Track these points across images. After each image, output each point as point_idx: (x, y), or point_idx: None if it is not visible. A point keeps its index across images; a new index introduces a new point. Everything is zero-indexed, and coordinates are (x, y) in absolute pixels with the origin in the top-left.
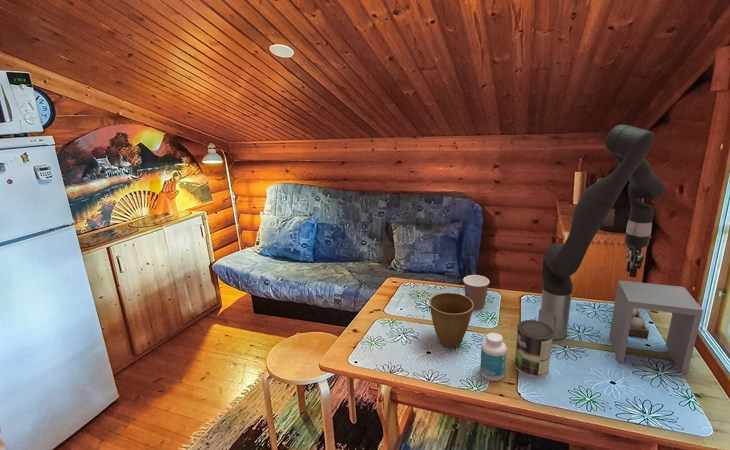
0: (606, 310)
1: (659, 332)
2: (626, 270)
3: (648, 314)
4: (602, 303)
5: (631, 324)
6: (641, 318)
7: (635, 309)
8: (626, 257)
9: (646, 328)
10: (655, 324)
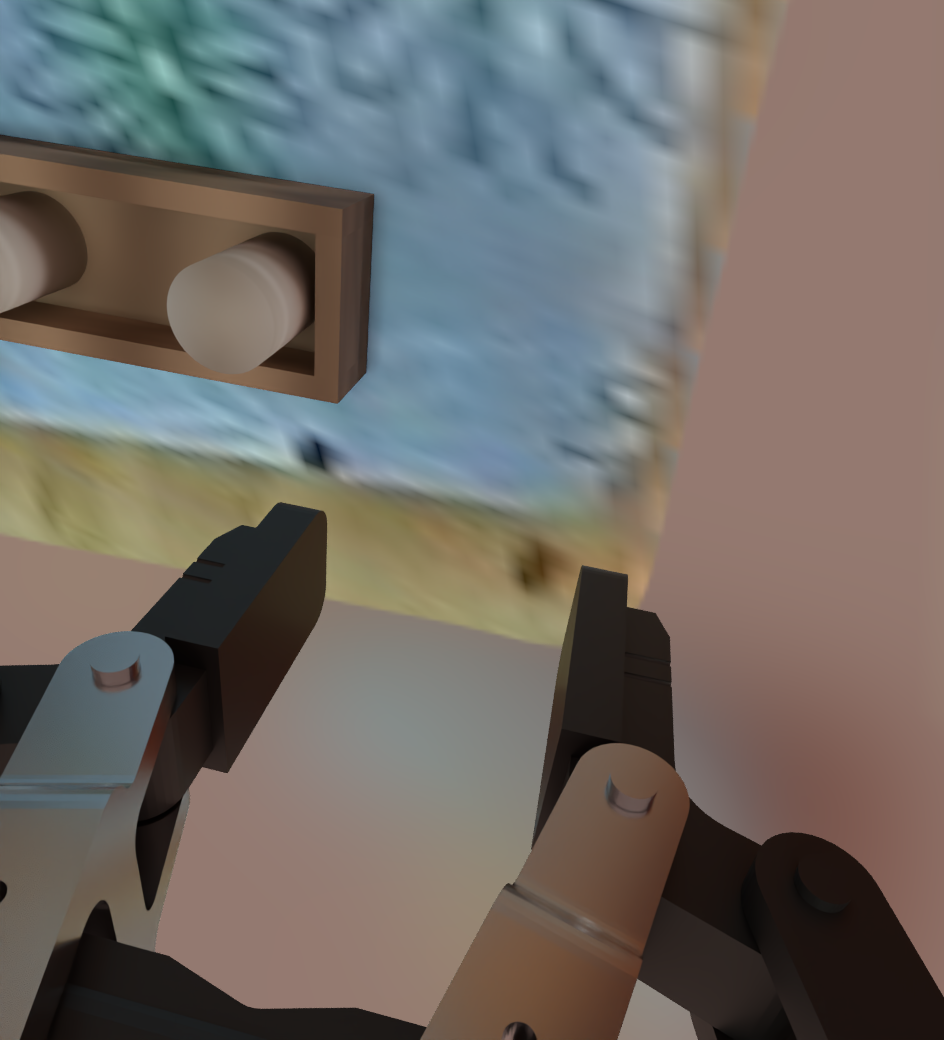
0: (484, 74)
1: (162, 448)
2: (581, 573)
3: (469, 502)
4: (686, 80)
5: (152, 243)
6: (180, 364)
7: (194, 344)
8: (793, 882)
9: None
10: (291, 477)
